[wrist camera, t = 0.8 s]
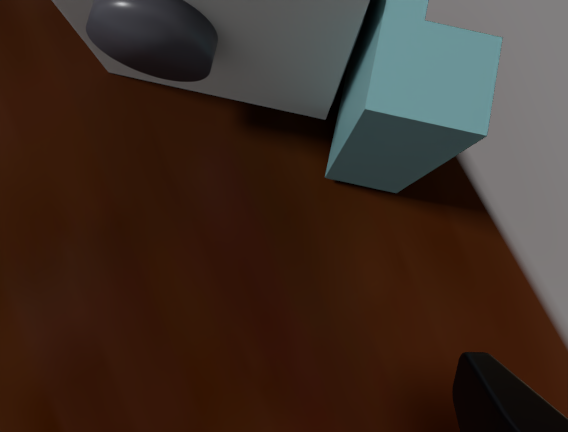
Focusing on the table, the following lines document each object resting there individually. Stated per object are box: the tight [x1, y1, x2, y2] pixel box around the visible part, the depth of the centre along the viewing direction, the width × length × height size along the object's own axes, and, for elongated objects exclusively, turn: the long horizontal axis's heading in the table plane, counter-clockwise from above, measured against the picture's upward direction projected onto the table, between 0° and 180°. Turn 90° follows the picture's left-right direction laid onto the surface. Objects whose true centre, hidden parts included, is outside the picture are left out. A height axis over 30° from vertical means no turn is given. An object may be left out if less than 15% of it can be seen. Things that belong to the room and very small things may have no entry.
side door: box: [325, 0, 503, 193], centre depth 18 cm, size 11×4×9 cm, turn 168°
